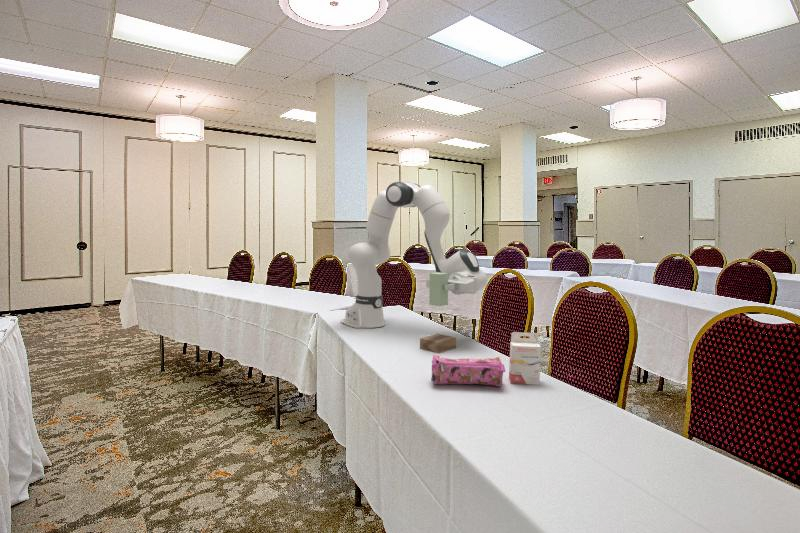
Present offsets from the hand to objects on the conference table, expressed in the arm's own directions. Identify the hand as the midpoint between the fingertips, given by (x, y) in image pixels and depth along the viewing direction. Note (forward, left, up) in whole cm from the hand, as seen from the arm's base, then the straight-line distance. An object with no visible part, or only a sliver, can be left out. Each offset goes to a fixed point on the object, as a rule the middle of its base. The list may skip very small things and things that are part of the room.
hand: (437, 286), depth 179 cm
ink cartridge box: (+43, -11, -24) cm, 51 cm away
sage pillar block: (0, +1, -7) cm, 7 cm away
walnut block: (0, +1, -24) cm, 24 cm away
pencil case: (+32, -25, -24) cm, 47 cm away
